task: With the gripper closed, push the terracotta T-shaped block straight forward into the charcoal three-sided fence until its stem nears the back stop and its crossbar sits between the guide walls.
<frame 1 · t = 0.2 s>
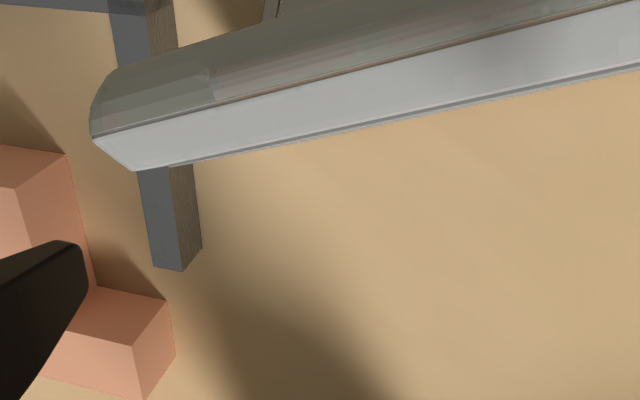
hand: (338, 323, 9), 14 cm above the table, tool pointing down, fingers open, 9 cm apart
t block: (54, 248, 33), on the table
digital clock: (465, 10, 21), on the table
fence: (14, 110, 28), on the table
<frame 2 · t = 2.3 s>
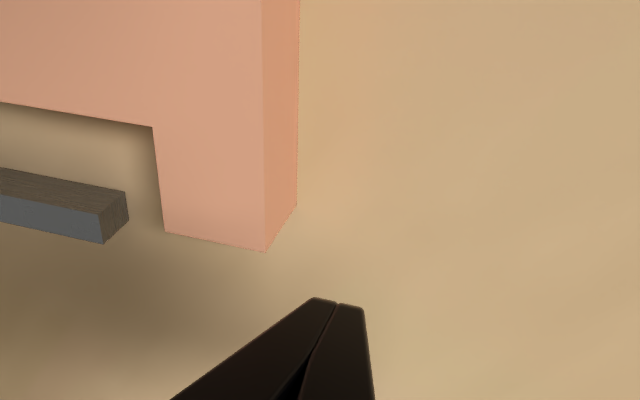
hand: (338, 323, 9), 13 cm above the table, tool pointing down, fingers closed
t block: (146, 26, 23), on the table
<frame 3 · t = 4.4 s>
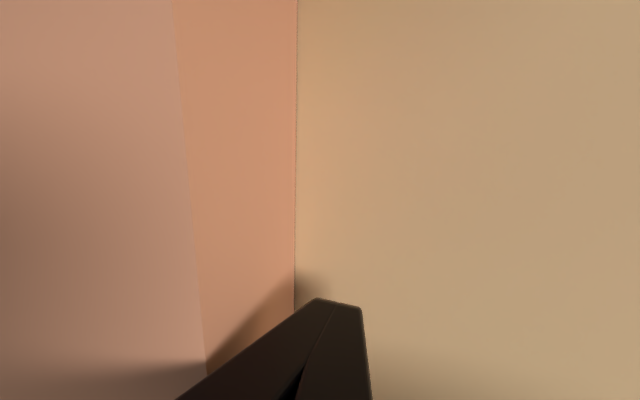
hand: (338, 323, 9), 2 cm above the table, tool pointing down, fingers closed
t block: (11, 189, 12), on the table, touching gripper
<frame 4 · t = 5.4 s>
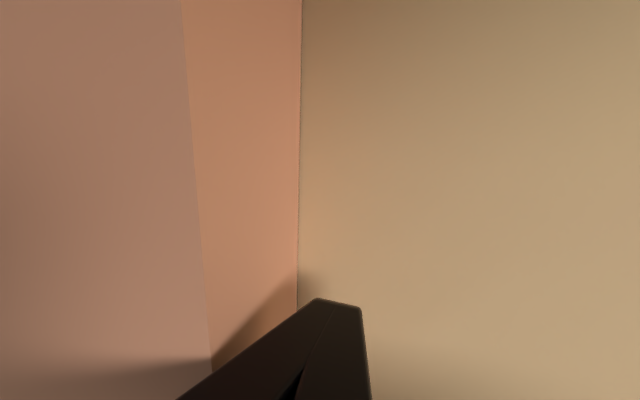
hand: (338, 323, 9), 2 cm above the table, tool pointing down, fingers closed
t block: (14, 188, 12), on the table, touching gripper
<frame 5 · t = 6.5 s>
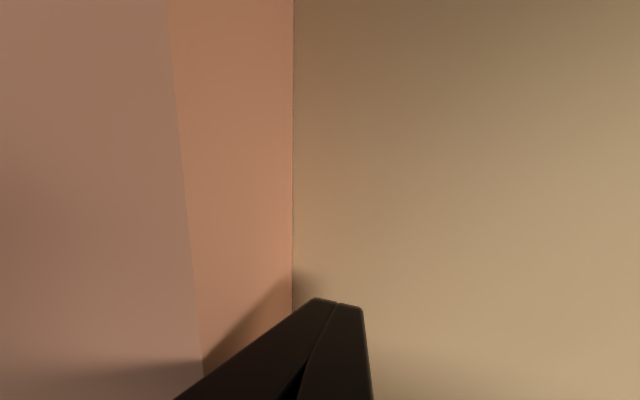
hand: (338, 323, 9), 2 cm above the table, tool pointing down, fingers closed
t block: (10, 191, 12), on the table, touching gripper
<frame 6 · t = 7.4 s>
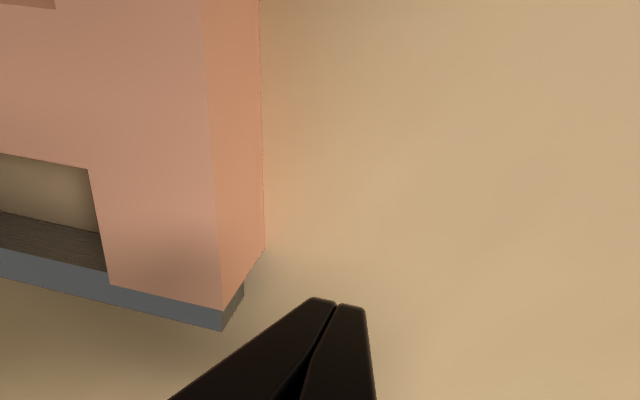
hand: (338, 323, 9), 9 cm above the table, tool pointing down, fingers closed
t block: (87, 48, 20), on the table
fence: (63, 43, 20), on the table
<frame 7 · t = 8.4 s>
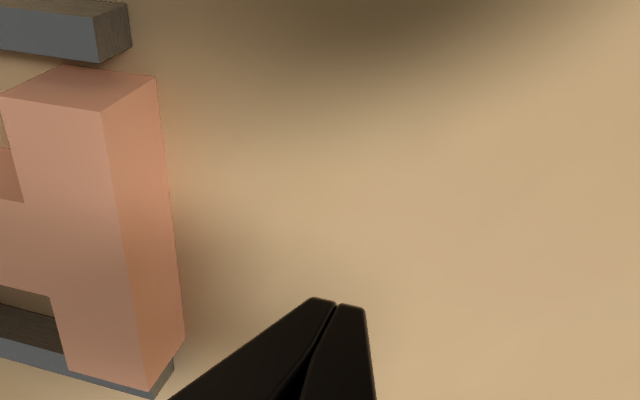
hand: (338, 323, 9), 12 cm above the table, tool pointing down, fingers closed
t block: (52, 199, 27), on the table
fence: (34, 195, 27), on the table
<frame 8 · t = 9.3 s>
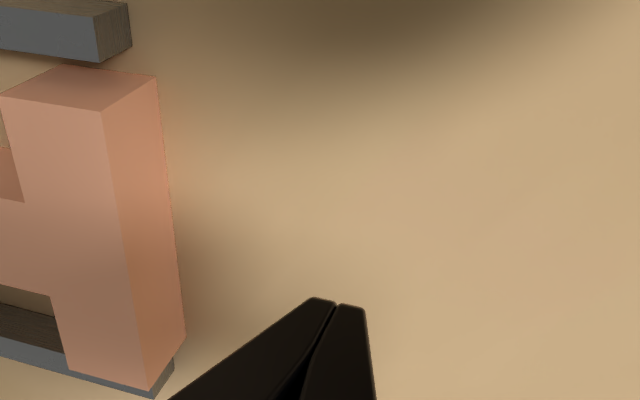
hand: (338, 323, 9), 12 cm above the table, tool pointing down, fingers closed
t block: (52, 199, 27), on the table
fence: (35, 194, 27), on the table
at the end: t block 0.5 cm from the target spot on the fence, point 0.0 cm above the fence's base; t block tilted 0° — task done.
